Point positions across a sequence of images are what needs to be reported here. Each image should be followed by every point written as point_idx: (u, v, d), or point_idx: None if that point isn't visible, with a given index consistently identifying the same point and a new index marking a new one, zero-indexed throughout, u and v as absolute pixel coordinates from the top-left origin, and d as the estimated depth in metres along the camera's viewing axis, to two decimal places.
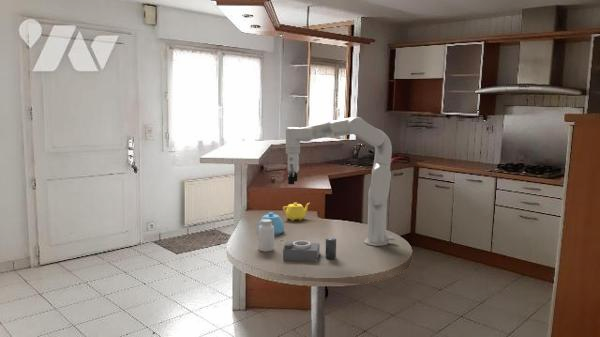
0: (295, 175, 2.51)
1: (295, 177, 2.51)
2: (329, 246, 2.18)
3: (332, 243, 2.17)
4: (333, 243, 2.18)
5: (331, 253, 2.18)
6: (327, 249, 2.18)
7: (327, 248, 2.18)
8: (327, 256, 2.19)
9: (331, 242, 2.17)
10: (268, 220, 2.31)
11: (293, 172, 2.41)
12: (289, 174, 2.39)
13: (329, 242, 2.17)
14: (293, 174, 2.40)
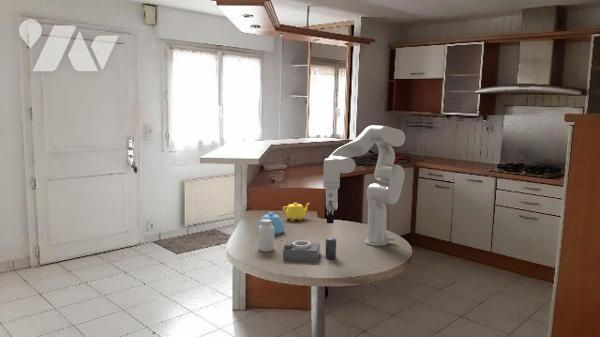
0: (333, 211, 2.22)
1: (333, 214, 2.22)
2: (329, 246, 2.18)
3: (332, 243, 2.17)
4: (333, 243, 2.18)
5: (331, 253, 2.18)
6: (327, 249, 2.18)
7: (327, 248, 2.18)
8: (327, 256, 2.19)
9: (331, 242, 2.17)
10: (268, 220, 2.31)
11: (332, 210, 2.12)
12: (328, 212, 2.10)
13: (329, 242, 2.17)
14: (332, 212, 2.12)
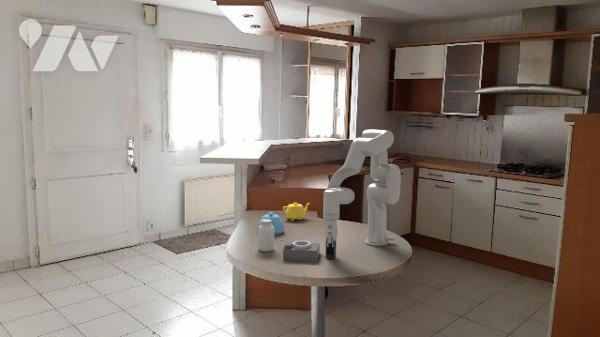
0: None
1: None
2: None
3: None
4: (333, 243, 2.18)
5: None
6: None
7: None
8: (327, 256, 2.19)
9: (331, 242, 2.17)
10: (268, 220, 2.31)
11: (332, 242, 2.16)
12: (328, 245, 2.15)
13: None
14: None
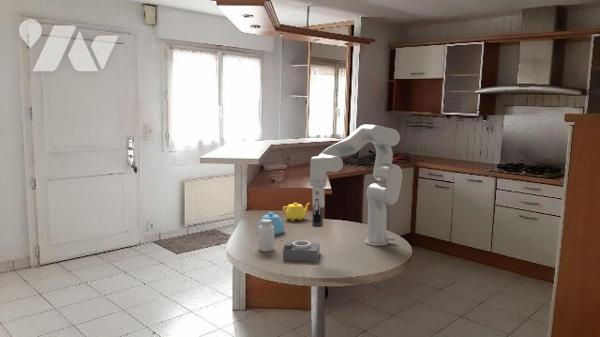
0: None
1: None
2: None
3: None
4: (320, 210, 2.16)
5: None
6: None
7: None
8: (314, 224, 2.17)
9: (318, 209, 2.16)
10: (268, 220, 2.31)
11: (319, 209, 2.14)
12: (315, 212, 2.13)
13: None
14: (319, 212, 2.14)
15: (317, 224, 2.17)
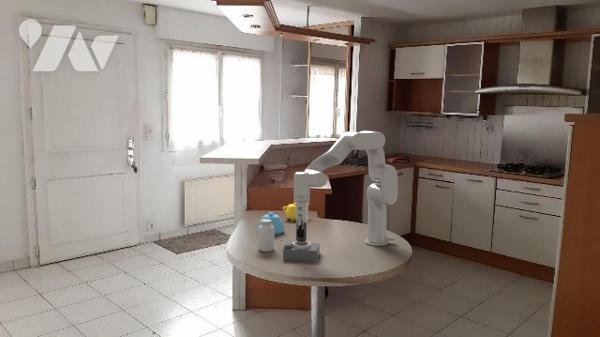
0: None
1: None
2: None
3: None
4: None
5: None
6: None
7: None
8: (297, 238, 2.20)
9: (301, 224, 2.18)
10: (268, 220, 2.31)
11: (302, 224, 2.17)
12: (298, 227, 2.16)
13: None
14: (302, 227, 2.17)
15: (300, 239, 2.19)
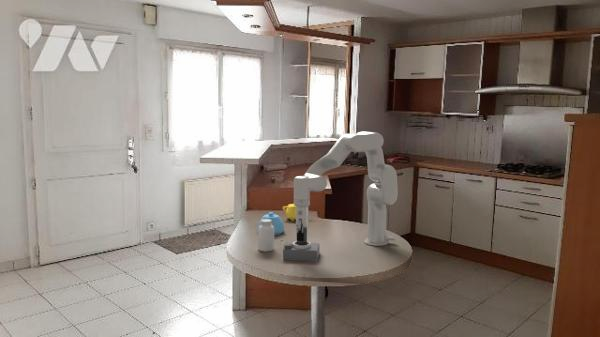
0: None
1: None
2: None
3: None
4: (304, 231, 2.19)
5: (302, 241, 2.19)
6: None
7: None
8: (298, 244, 2.20)
9: None
10: (268, 220, 2.31)
11: (302, 227, 2.16)
12: (298, 230, 2.14)
13: None
14: (302, 230, 2.15)
15: None
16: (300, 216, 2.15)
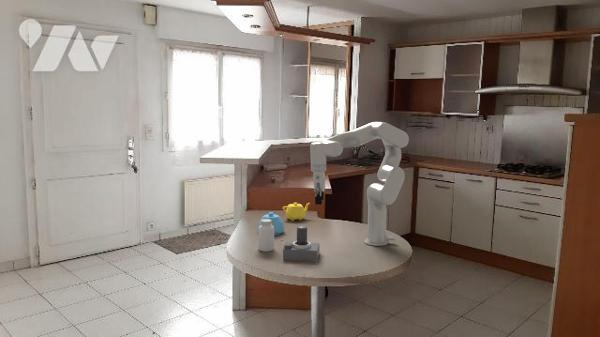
0: (321, 193, 2.32)
1: (321, 195, 2.32)
2: (300, 235, 2.19)
3: (303, 231, 2.19)
4: (304, 231, 2.19)
5: (302, 241, 2.19)
6: (298, 237, 2.20)
7: (298, 236, 2.20)
8: (298, 244, 2.20)
9: (302, 230, 2.19)
10: (268, 220, 2.31)
11: (320, 191, 2.22)
12: (316, 194, 2.20)
13: (300, 230, 2.19)
14: (320, 193, 2.22)
15: None
16: (318, 181, 2.22)
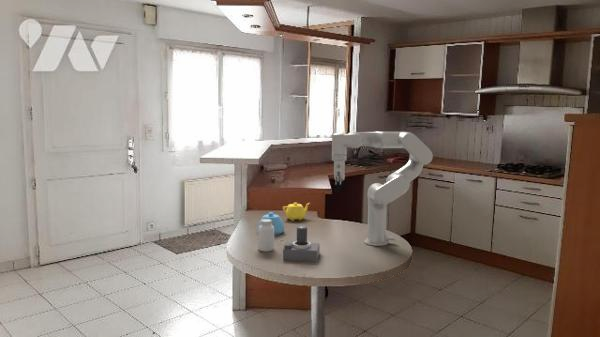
0: (340, 183, 2.43)
1: (340, 185, 2.43)
2: (300, 235, 2.19)
3: (303, 231, 2.19)
4: (304, 231, 2.19)
5: (302, 241, 2.19)
6: (298, 237, 2.20)
7: (298, 236, 2.20)
8: (298, 244, 2.20)
9: (302, 230, 2.18)
10: (268, 220, 2.31)
11: (340, 180, 2.33)
12: (336, 182, 2.31)
13: (300, 230, 2.19)
14: (340, 182, 2.33)
15: None
16: (338, 169, 2.33)
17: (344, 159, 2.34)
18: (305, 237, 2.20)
